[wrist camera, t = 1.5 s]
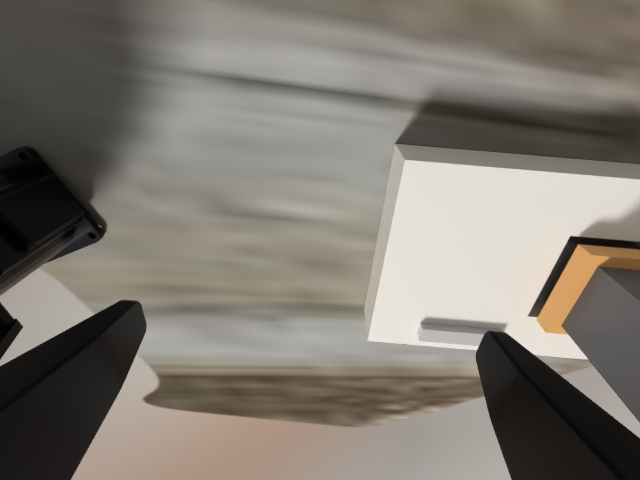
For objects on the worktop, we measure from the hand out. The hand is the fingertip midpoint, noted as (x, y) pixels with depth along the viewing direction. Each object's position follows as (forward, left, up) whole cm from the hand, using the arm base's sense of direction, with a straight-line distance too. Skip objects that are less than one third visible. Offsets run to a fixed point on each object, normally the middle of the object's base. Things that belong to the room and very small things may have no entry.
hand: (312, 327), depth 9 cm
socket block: (+9, -9, -12) cm, 17 cm away
